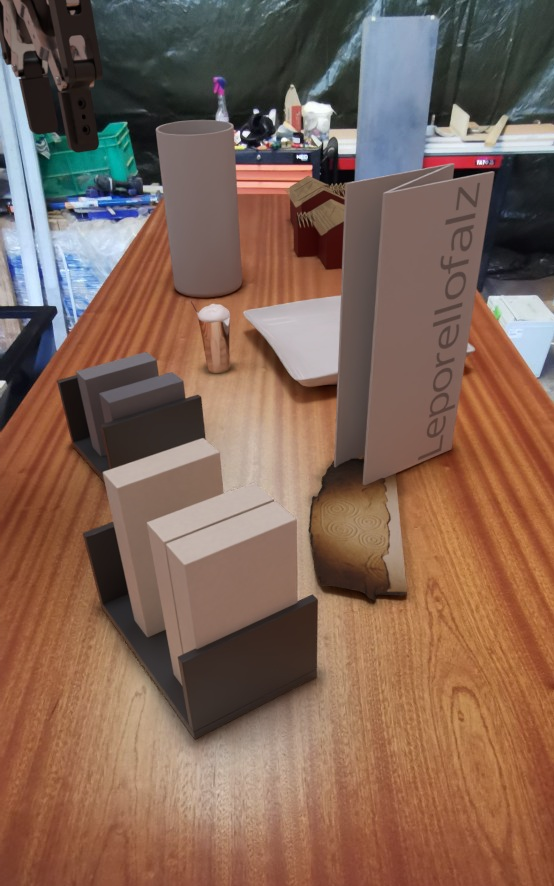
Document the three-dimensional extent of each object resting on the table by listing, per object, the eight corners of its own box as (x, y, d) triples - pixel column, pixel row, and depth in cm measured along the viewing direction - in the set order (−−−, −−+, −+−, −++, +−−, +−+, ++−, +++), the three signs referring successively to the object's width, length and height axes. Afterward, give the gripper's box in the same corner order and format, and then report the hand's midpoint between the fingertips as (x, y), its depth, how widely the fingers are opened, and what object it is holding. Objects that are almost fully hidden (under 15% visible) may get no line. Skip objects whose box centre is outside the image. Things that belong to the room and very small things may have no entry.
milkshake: (199, 362, 111) (192, 294, 105) (234, 362, 111) (230, 294, 104) (196, 375, 108) (188, 306, 101) (232, 375, 108) (227, 306, 101)
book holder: (194, 740, 59) (167, 578, 48) (101, 607, 71) (61, 453, 60) (317, 676, 64) (319, 515, 52) (210, 562, 76) (192, 411, 64)
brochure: (364, 486, 84) (385, 193, 65) (333, 467, 88) (344, 183, 68) (451, 449, 91) (494, 171, 71) (419, 432, 94) (452, 163, 75)
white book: (147, 638, 66) (116, 488, 55) (134, 620, 68) (102, 471, 57) (233, 599, 70) (220, 451, 59) (218, 583, 72) (203, 437, 61)
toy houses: (278, 221, 165) (276, 170, 158) (367, 214, 167) (369, 163, 160) (316, 291, 132) (317, 230, 125) (427, 282, 134) (433, 221, 127)
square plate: (475, 373, 106) (479, 347, 103) (295, 405, 100) (295, 378, 98) (396, 307, 125) (398, 283, 123) (242, 331, 120) (240, 306, 117)
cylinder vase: (166, 297, 132) (145, 135, 115) (184, 274, 141) (168, 119, 124) (234, 300, 130) (223, 135, 113) (248, 276, 139) (240, 120, 122)
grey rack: (117, 497, 85) (99, 410, 77) (72, 446, 94) (52, 364, 86) (208, 465, 90) (199, 380, 82) (157, 419, 98) (145, 339, 91)
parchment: (407, 601, 70) (408, 594, 69) (304, 596, 70) (304, 590, 70) (395, 466, 89) (396, 459, 88) (314, 463, 89) (314, 456, 88)
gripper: (-81, -146, 50) (-11, 134, 61) (-19, -169, 41) (49, 165, 52) (27, -145, 53) (75, 122, 63) (107, -166, 44) (147, 149, 54)
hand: (64, 141), depth 57 cm, fingers open, 8 cm apart
